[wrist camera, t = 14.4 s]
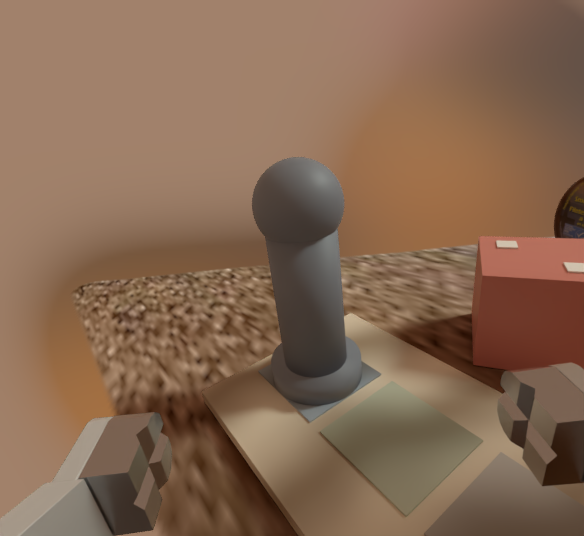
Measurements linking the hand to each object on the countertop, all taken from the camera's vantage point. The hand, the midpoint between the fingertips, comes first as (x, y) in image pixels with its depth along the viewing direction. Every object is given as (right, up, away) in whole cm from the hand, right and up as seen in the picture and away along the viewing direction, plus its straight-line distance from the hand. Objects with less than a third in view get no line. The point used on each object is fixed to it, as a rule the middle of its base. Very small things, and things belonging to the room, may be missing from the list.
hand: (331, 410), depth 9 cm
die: (+14, -1, +15) cm, 20 cm away
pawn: (+1, -3, +13) cm, 13 cm away
